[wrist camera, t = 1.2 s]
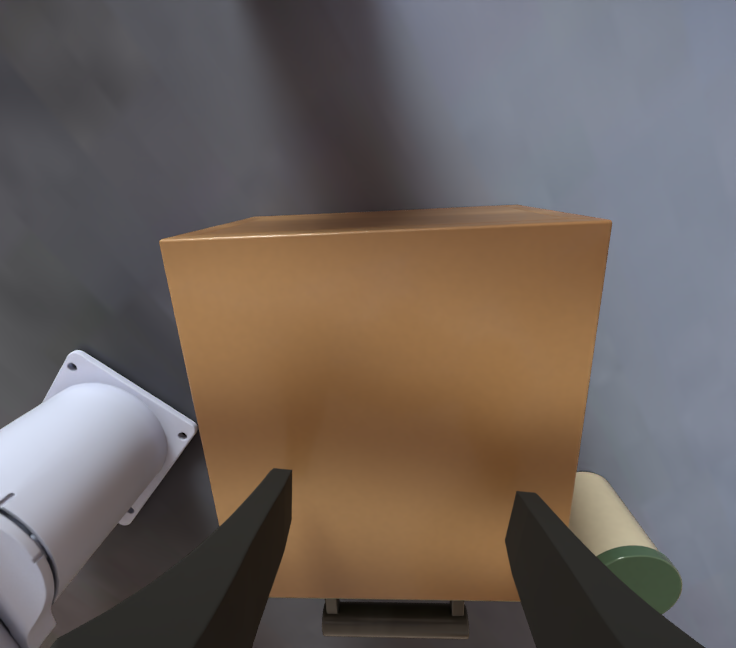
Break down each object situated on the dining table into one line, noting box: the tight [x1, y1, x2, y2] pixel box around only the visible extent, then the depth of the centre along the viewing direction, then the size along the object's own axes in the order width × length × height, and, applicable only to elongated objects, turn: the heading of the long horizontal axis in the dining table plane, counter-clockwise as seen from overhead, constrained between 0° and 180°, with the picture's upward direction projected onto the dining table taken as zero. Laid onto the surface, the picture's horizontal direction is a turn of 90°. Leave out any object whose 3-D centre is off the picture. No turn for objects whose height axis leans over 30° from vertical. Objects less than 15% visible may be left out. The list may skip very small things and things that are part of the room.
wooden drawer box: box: [159, 205, 612, 601], centre depth 18 cm, size 14×13×9 cm
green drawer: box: [268, 597, 521, 639], centre depth 19 cm, size 18×11×7 cm, turn 3°
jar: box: [568, 472, 682, 615], centre depth 21 cm, size 4×4×6 cm
